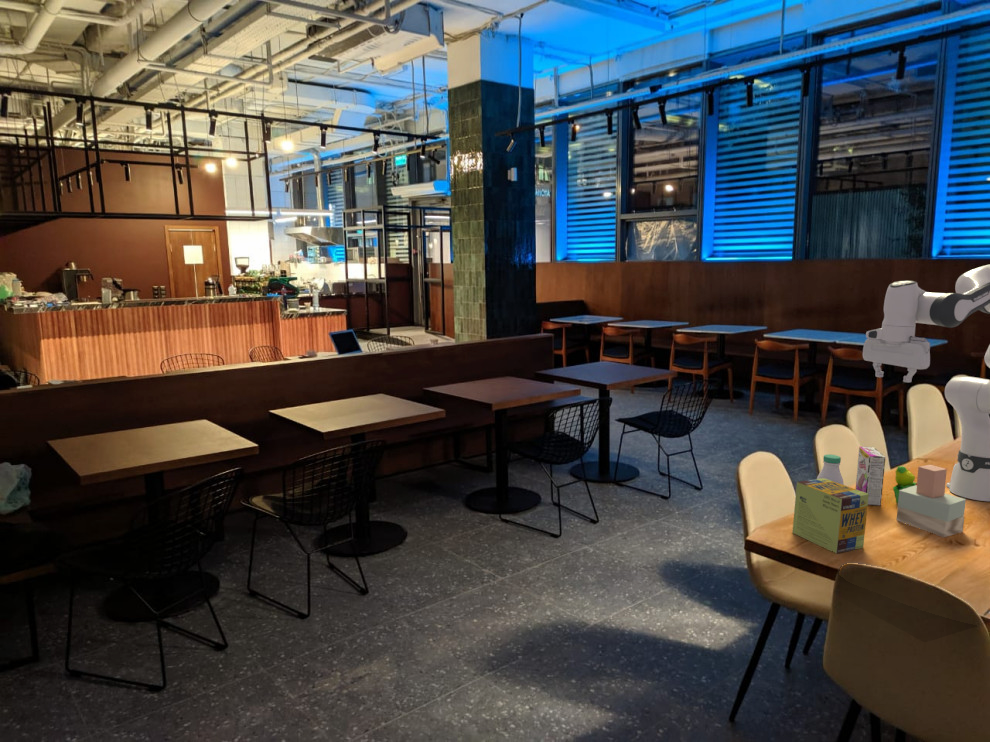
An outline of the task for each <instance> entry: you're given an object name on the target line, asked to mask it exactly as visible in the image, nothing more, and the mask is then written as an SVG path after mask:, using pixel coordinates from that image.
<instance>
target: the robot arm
mask: <svg viewBox="0 0 990 742" xmlns="http://www.w3.org/2000/svg"><path fill="white" fill-rule="evenodd" d="M954 289H955V292H947V293H946V292H929V291H926V290H924V289H922V288H921V287H919V285H918V282H917V281H915V280H898V281H894V282H891V283H890V284H889V285H888V287H887V290H886V293H885V297H884V301H883V302H884V303H883V320H882V323H881V328H880V327H879V328H876V329H871V330H868V331H866V333H865V338H866V339H865V341H864V343H863V348H862V358H863V360H864V361H867V362H872V366H873V369H874V371H875V377H876V378H883V377H884V373H885V372H884V371H882V367H881V366H882V364H885V365H889V366H890V365H891V366H897V367H902V368H907V371H908V373H907V374H906V375H904V376H903V380H902V382H903V383H912V379H913V376H915V374H916V373H917V372H918V371H917V370H927V369H928V368H929V367H930V365H931V353H930V350H931V342H930V341H929V340H927V338H926V337H918V336H915V335H916V327H917V326H916V324H923V325H924V324H926V325H934V326H939V327H945V328H955V327H958V326H960V325H961V324H962V323H963V322H964V321H965V320H966V319H967V318H968V317H969V316H970V315H972V314H974V313H975V312H977V311H980V312H982V313H985V314H989V315H990V264H986V265H982V266H979V267H976V268H973V269H970V270H968V271H965V272H964V273H962V274H961V275H959V277H958V278H957V280H956V281H955V288H954ZM983 359H984V364H985V365H986V366H987V367H988V368H989V369H990V344H989V345H988V347H987V349H986V351H985V355H984V358H983ZM944 397H945V399H946V401H947V402H948V403H949V404H950V405H951V406H952V407H953V409H954V410H955V412H956V414H957V416H958V418H959V421H960V426H961V439H960V440H961V441H960V449H959V450H958V452H957V459H956V460H957V462H956V463H955V464H954V465H953V468H952V471H951V472H952V473H951V475H950V476H951V477H950V482H947V483H946V484H945V487H947V488H948V489H949V492H950V493H953V494H954V495H956V496H957V497H960V498H964V499H970V500H974V501H981V502H983V501H984V502H990V379H988V378H981V377H975V376H954V377H953V378H951V379H950V380H949V381H948V382H947V383H946V385H945V388H944Z"/></svg>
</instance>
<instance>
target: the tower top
mask: <svg viewBox="0 0 990 742" xmlns="http://www.w3.org/2000/svg"><path fill="white" fill-rule="evenodd" d="M916 491H917V485H915V486H912V487H909V488H905V489H902V490H899V498H898V503H897V508H898V507H901V508H905V509H908V510H911V511H914V512H917V513H921V514H924V515H927V516H930V517H934V518H937V519H940V520H943V521H946V522H949V521H951V520H954V519H957V518H959V517H962V516H964V517H965V509H966V503H967V502H966V501H967V498H964V497H960V496H957V495H956V496H955V495H953V494H949V493H945V494H944V496H940V497H935V498H931V497H928V496H925V495H922V494H918V493H916Z"/></svg>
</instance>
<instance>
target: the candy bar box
mask: <svg viewBox="0 0 990 742" xmlns="http://www.w3.org/2000/svg"><path fill="white" fill-rule="evenodd" d="M857 458H858V459H857V468H856V469H857V470H856V481H855V489H856V490H859V491H862V492H865V493H868V494H869V495H868V505H867V506H878V507H879V506H882V505H881V504H882V498H883V497H882V496H883V487H884V478H885V477H884V476H885V475H884V474H885V467H886V465H885V464H886V456H885V455H883V454H882V453H881V452H880V451H879V450H878V449H877V448H876V447H873V446H859V448H858V456H857Z"/></svg>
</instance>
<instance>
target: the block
mask: <svg viewBox="0 0 990 742" xmlns="http://www.w3.org/2000/svg"><path fill="white" fill-rule="evenodd" d="M917 469H918V470H917V480H916V483H917V491H916V493H918V494H922V495H925V496H928V497H931V498H935V497H940V496H944V494H946V484H947V483H946V482H947V471H948V469H947V468H944V467H940V466H936V465H934V464H926V465H921V466H918V468H917Z"/></svg>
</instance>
